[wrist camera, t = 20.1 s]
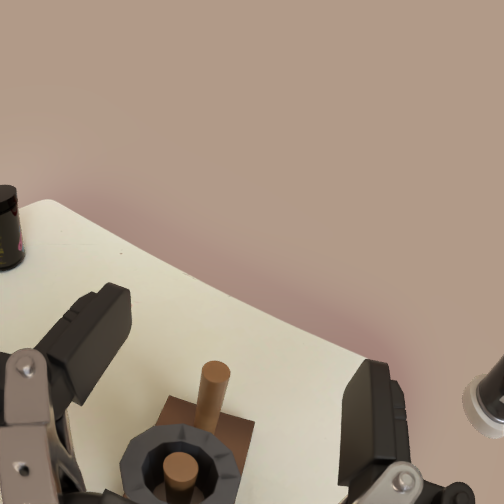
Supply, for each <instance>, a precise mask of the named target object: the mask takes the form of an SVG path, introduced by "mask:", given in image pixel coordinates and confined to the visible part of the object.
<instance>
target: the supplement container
mask: <svg viewBox="0 0 504 504" xmlns="http://www.w3.org/2000/svg"><path fill="white" fill-rule="evenodd" d="M17 202H18V199H17V191H16V188H15V187H14V186H11V185H0V271H6V270H9V269H12V268H14V267H16V266H17V265H19V264H20V263H21V261H22V260H23V258H24V255H25V249H24V244H23V238H22V232H21V225H20V218H19V211H18V203H17Z"/></svg>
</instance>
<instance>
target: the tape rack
mask: <svg viewBox="0 0 504 504" xmlns="http://www.w3.org/2000/svg"><path fill="white" fill-rule="evenodd" d="M229 378H230V370H229V368H228V366H227V365H226V364H224V363H222V362H220V361H210V362H207V363H206V364H205V365H204V366H203V368H202V373H201V380H200V386H199V393H198V400H197V405H196V404H193V403H190V402H187V401H184V400H181V399H178V398H176V397H173V396H170V395H169V397H168V399H167V401H166V403H165V405H164V407H163V410H162V412H161V414H160V416H159V418H158V420H157V423H156V425H155V426H160V425H172V424H182V423H183V424H186V425H189V426H192V427H195V428H198V429H201V430H204V431H208V432H211V433H212V434H213V435H214V436H215V437H216V438H218V439H219V440H220V441H221V442H222V443H223V444H224V445H225V446H226V447H228V448H229V449H230V450H231V451H232V452H233V455H234V458H235V461H236V464H237V467H238V469H239V472H240V475H241V476H242V473H243V469H244V465H245V461H246V457H247V453H248V449H249V445H250V441H251V437H252V433H253V428H254V424H255V422H254V421H250V420H246V419H243V418H239V417H235V416H232V415H228V414H225V413H222V412H220V411H221V407H222V404H223V400H224V396H225V392H226V389H227V385H228V381H229ZM163 471H164V482H162V483H161V484H159V485H158V486H156V487H155V489H154V491H153V494H154V495H155V496H156V497H157V498H158V499H159V500H161V501H164V502H167V503H170V504H199V503H201V502H202V501H203V500H205V498H204V495H203V492H202V491H201V490H199V489H198V488H197V487H196V486H195V482H196V478H197V473H198V464H197V462H196V460H195V459H194V458H193V457H192V456H191V455H189V454H187V453H184V452H175V453H172V454H170V455H168V456H167V457H166V458H165V460H164V463H163ZM123 497H125V498H127V499H128V497H127V496H126V494H125V492H124V495H123Z"/></svg>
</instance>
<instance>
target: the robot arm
mask: <svg viewBox="0 0 504 504" xmlns="http://www.w3.org/2000/svg"><path fill="white" fill-rule="evenodd" d="M131 325H132V316H131V296H130V291H129V289H127V288H124V287H121V286H118V285H116V284H113V283H110V282H109V283H107V284H105V285H104V286H103V287H102V289H101V290H100V291H99V292H98V293H94V292H90V293H88V294H86V295H84V296H82V297H80V298H79V299H78V300H77V301H76V302H75V303H74V304H73V305H72V306H71V307H70V310H68V311H67V312H66V313H65V314H64V315H63V317H62V318H60V319H59V321H58V322H57V323H56V324H55V325H54V326H53V327H52V328H51V329H50V331H49V332H48V333H47V334H46V335H45V336H44V337H43V339H42V340H41V341H40V342H39V343H38V344H37V345H36V346H35V347H34V348H33V349H31V348H24V349H20V350H18V351H16V352H14V353H13V354H7V353H3V352H0V486H1V494H2V500H3V504H139V503H136V502H134V501H132V500H129V499H127V498H125V497H122V496H120V495H118V494H116V493H114V492H111V491H109V490H107V489H105V490H104V492H103V494H102V493H96V492H86V488H85V484H84V481H83V477H82V474H81V471H80V469H79V466H78V464H77V461H76V458H75V453H74V448H73V443H72V437H71V431H70V424H69V418H68V411H67V407H68V406H69V404H70V403H71V401H73V402H74V403H76V404H78V405H80V406H82V405H83V404H84V402H85V401H86V399H87V397H88V396H89V394H90V393H91V391H92V390H93V388H94V387H95V385H96V384H97V382H98V380H99V379H100V377H101V376H102V374H103V373H104V371H105V370H106V368H107V367H108V365H109V364H110V362H111V361H112V359H113V358H114V356H115V355H116V353H117V352H118V350H119V349H120V347H121V346H122V345H123V343H124V342H125V340H126V339H127V337H128V335H129V333H130V330H131ZM476 396H477V400H478V403H479V405H480V407H481V409H482V410H483V412H484V413H485V414H486V415H487V416H488V417H489V418H490V419H491V420H493V421H494V422H496V423H499V424H504V355H503V356H502V357H501V359H500V360H499V361H498V362H497V363H496V365H495V366H494V367H493V368H492V370H491V371H490V372H489V373H488V374H487V375H486V376H485V378H484V379H482V380H481V381H480V382H479V384H478V385H477V388H476ZM406 418H407V416H406V410H405V400H404V394H403V391H402V390H401V388H400V386H399V384H398V382H397V381H395V380H391V379H390V372H389V366H388V364H387V363H384V362H379V361H374V360H370V359H365V360H364V361H363V362H362V364H361V365H360V367H359V368H358V370H357V371H356V373H355V374H354V376H353V377H352V379H351V380H350V382H349V383H348V385H347V386H346V389H345V391H344V394H343V399H342V421H341V443H340V460H339V474H338V486H348V487H349V489H348V495H346V496H345V497H344V498H343V499H342V500H341V501H340V502H339V503H338V504H475V496H474V493H473V491H472V489H471V488H470V487H469V486H468V485H467V484H465V483H463V482H455V483H452V484H451V485H449V486H447V487H446V488H445V487H442V486H439V485H436V484H433V483H431V482H428V481H426V480H424V479H423V478H422V475H421V473H420V471H419V470H418V468H417V467H416V466H414V465H413V464H411V459H410V446H409V436H408V425H407V421H406Z"/></svg>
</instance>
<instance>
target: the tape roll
mask: <svg viewBox="0 0 504 504" xmlns="http://www.w3.org/2000/svg"><path fill="white" fill-rule="evenodd" d="M175 452H184V453H187V454H189V455H191V456H192V457H193V458H194V459H195V460H196V462H197V464H198V473H197V478H196V482H195V486H196V487H197V488H198V489H199V490H201V491H202V492H203V495H204V498H205V500H203V501H202V502H201V503H199V504H234V503H235V499H236V495H237V492H238V488H239V484H240V480H241V475H240V472H239V469H238V467H237V464H236V461H235V458H234V455H233V452H232V451H231V450H230V449H229V448H228V447H226V446H225V445H224V444H223V443H222V442H221V441H220V440H219V439H218V438H216V437H215V436H214V435H213V434H212V433H211V432H208V431H204V430H201V429H198V428H195V427H192V426H189V425H186V424H183V423H182V424H172V425H160V426H153V427H151V428H150V429H148V430H147V431H145V432H143V433H142V434H140V435H138V436H137V437H135V438H133V439H132V440H131V441H130V443H129V445H128V447H127V449H126V451H125V453H124V455H123V457H122V459H121V461H120V463H119V464H120V471H121V478H122V484H123V489H124V492H125V494H126V496H127V497H128V499H129V500H132V501H134V502H136V503H139V504H170V503H167V502H164V501H161V500H159V499H158V498H157V497H156V496H155V495H154V494H153V491H154V489H155V487H156V486H158V485H159V484H161V483H162V482H164V471H163V463H164V460H165V458H166V457H167V456H168V455H170V454H172V453H175Z"/></svg>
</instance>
